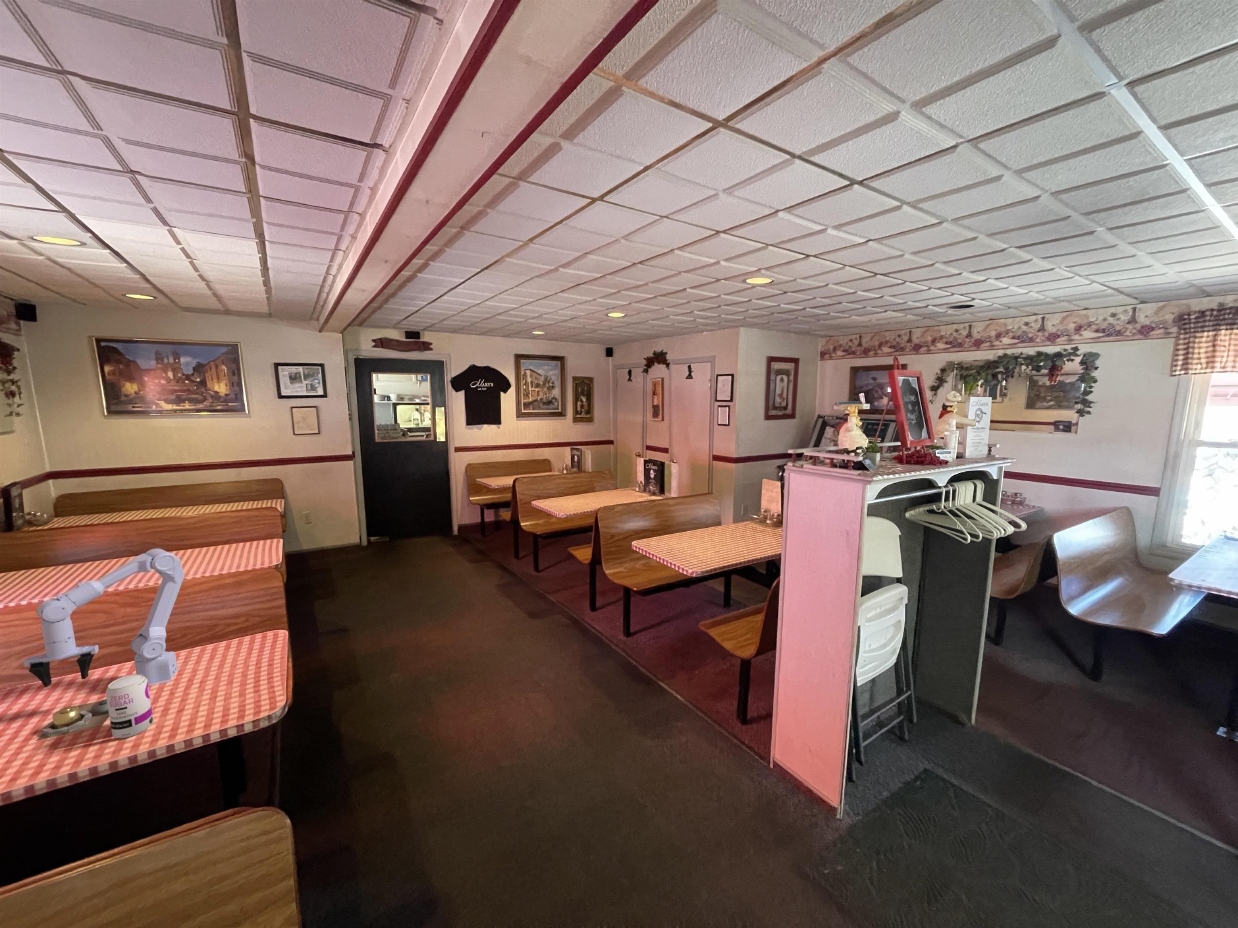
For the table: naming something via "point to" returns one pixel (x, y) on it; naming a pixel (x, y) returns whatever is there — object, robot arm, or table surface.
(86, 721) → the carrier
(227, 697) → the table surface
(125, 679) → the supplement can
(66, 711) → the brass knob
